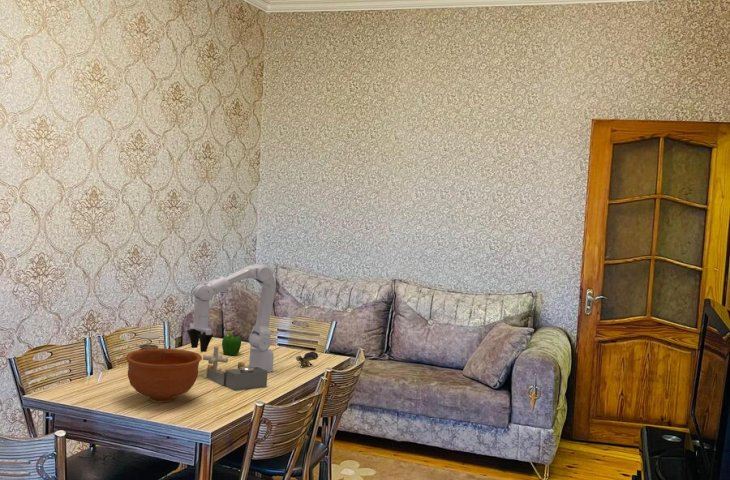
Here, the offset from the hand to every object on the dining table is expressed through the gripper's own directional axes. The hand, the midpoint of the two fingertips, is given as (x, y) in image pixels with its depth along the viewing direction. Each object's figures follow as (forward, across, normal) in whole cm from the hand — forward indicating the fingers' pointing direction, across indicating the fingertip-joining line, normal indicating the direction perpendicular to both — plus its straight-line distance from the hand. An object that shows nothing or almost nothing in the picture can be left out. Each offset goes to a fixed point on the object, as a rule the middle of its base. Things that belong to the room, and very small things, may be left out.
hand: (198, 349), depth 279 cm
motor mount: (+10, +16, +8) cm, 21 cm away
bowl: (+10, +26, -27) cm, 39 cm away
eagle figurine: (+10, +5, +50) cm, 51 cm away
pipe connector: (+10, -2, +8) cm, 13 cm away
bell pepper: (+10, -28, +31) cm, 43 cm away
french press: (+10, -12, -14) cm, 21 cm away
